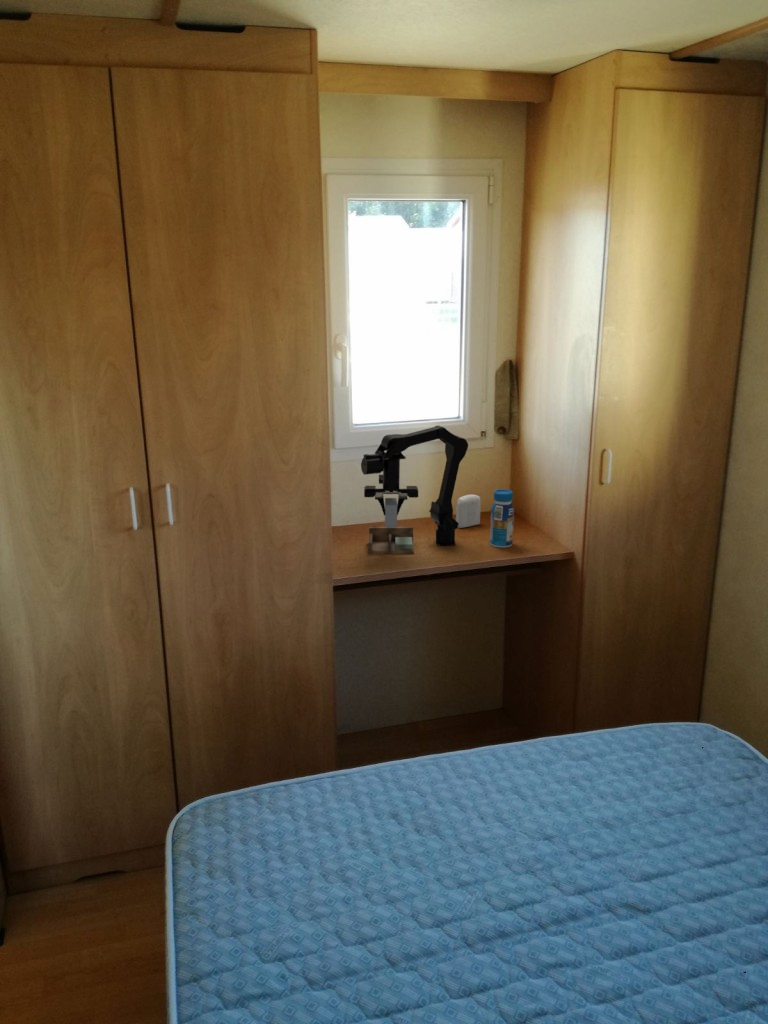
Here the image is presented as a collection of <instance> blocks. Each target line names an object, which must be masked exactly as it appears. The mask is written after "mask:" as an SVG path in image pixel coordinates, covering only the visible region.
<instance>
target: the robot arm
mask: <svg viewBox="0 0 768 1024" xmlns="http://www.w3.org/2000/svg"><path fill="white" fill-rule="evenodd" d="M435 440H440V442H442V443H444V444H445V445H444V446H445V447H444V453H445V458H446V462H445V466H444V471H443V475H442V481H441V483H440V484H441V485H440V490H439V495H438V498H437V499H436V501H431V503H430V509H429V513H430V517H431V519H432V521H434V523H435V525H437V527H436V528H435V542H436V545H438V546H456V541H455V540H456V538H455V537H456V530H457V529H459V528H458V525H459V523H458V522H457V521H456V519H454V518H453V517H454V516H453V515H454V509H453V502H452V501H453V496H454V490H455V486H456V483H457V482H456V481H457V476H458V473H459V468H460V464H461V462H462V461H463V459H464V458H465V457H466V454H467V451H468V449H469V443H468V441H467V440H466V439H465V437H460V436H458V435H456V434H453V432H450V431H449V430H448V429H447V428H446V427H444V426H441V425H435V426H432V427H429V428H424V429H421V430H417V431H413V432H410V433H405V434H404V433H403V434H401V433H398V434H397V433H395V434H393V433H391V434H385V435H384V436H383V438H382V439H381V442H380V444H379V446H378V448H377V449H376V450H375V452H374V453H373V454H367V453H366V454H365V453H364V454H363V458H362V459H361V462H360V467H361V473H362V474H363V475H366V476H367V475H374V474H375V475H376V474H378V484H380V485H382V488H376V485H365V486H364V487H363V489H364V491H363V492H364V493H363V495H364V496H363V497H364V498H374V500H377V501H378V503H379V505H380V507H381V510H382V512H383V516H385V498H384V495H398V497H397V516H399V512H400V510H401V508H402V505H403V504H404V502H405V501H407V500H408V498H410V499H411V498H412V499H413V498H419V488H418V486H417V485H406V486H405V487H406V488H400V480H401V478H400V473H401V472H400V471H401V468H400V467H401V460H406V456H405V455H404V454H403V453H402V452H404V451H406V450H407V449H408V448H410V447H413V446H417V445H421V444H425V443H427V442H431V441H435ZM381 473H382V474H381Z"/></svg>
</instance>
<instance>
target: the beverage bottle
mask: <svg viewBox="0 0 768 1024" xmlns="http://www.w3.org/2000/svg"><path fill="white" fill-rule="evenodd" d="M493 491H494V492H493V501H494V502H493V504H492V506H491V509H490V511H491V514H490V533H489V538H490V539H489V543H490V545H491V546H492V547H494V548H503V549H504V548H509V547H511V546H513V539H514V521H515V515H514V513H515V508H514V505H513V503H512V502H513V498H514V492H513V490H511V489H505V488H504V489H500V488H499V489H496V490H493Z"/></svg>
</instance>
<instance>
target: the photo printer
mask: <svg viewBox="0 0 768 1024" xmlns="http://www.w3.org/2000/svg"><path fill="white" fill-rule="evenodd" d="M481 501H482V500H481V497H480V496H479V495H478V494H477V495H476V494H466V495H463V496H460V497H459V498H457V500H456V509H455V520H456V521H457V522H458V523H459V525H458V528H457V529H461V528H467V527H473V526H477V525H480V523H481V507H482V506H481V505H482V503H481Z"/></svg>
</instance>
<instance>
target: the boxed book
mask: <svg viewBox="0 0 768 1024" xmlns="http://www.w3.org/2000/svg"><path fill="white" fill-rule="evenodd" d="M397 503H398V498H397V497H385V498H384V505H385V515H384V524H385V525H384V527H398V515H397Z"/></svg>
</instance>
